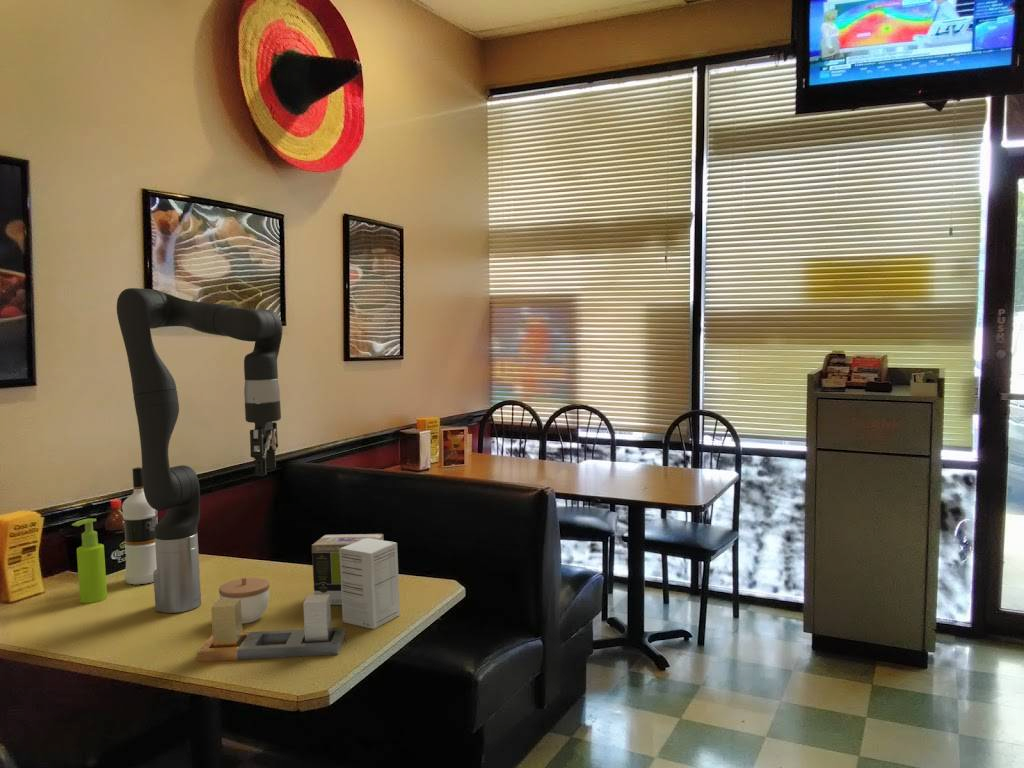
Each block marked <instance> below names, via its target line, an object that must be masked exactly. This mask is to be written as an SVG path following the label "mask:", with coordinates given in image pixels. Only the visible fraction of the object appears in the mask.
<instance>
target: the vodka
mask: <svg viewBox="0 0 1024 768" xmlns="http://www.w3.org/2000/svg"><path fill="white" fill-rule="evenodd" d="M132 485H133V487H132V488H133V492H132V494H131V495H129V496H128V497H127V498H126V499H124V501H123V502H122V505H121V507H122V508H121V509H122V518H123V526H124V527H123V528H124V540H125V541H124V542H125V544H124V548H125V572H124V582H126V583H127V584H129V585H131V584H133V585H132V586H141V585H140V584H144V585H148V583H149V584H152V583H153V584H154V576H153V572H154V571H155V570H156V569H157V567H156V550H155V534H154V528H155V526H156V524H157V523H158V522H159V519H158V518H159V517H158V510H155V509H153V508H152V507H151V506H150V505H149V504H148V502H147V500H146V498H145V494H144V490H143V478H142V467H133V468H132Z"/></svg>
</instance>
